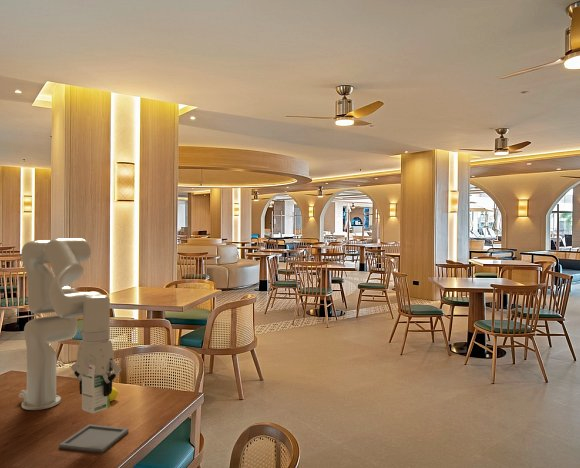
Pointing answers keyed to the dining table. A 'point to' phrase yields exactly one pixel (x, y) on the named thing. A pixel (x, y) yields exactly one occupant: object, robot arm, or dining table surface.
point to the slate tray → (94, 438)
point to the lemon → (113, 394)
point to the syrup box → (93, 392)
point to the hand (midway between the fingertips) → (95, 393)
